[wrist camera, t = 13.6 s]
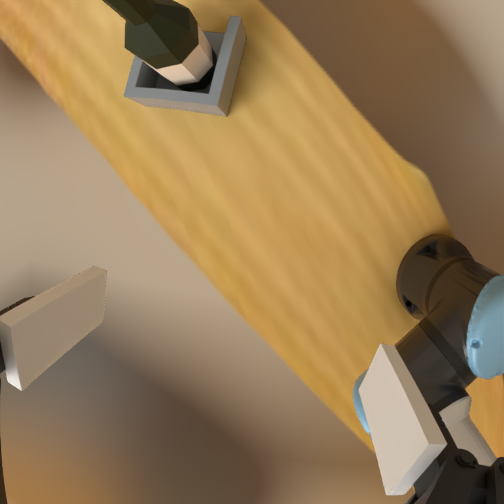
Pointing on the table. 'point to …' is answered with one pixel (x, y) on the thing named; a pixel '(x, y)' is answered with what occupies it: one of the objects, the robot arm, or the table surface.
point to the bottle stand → (205, 100)
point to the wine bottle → (168, 41)
